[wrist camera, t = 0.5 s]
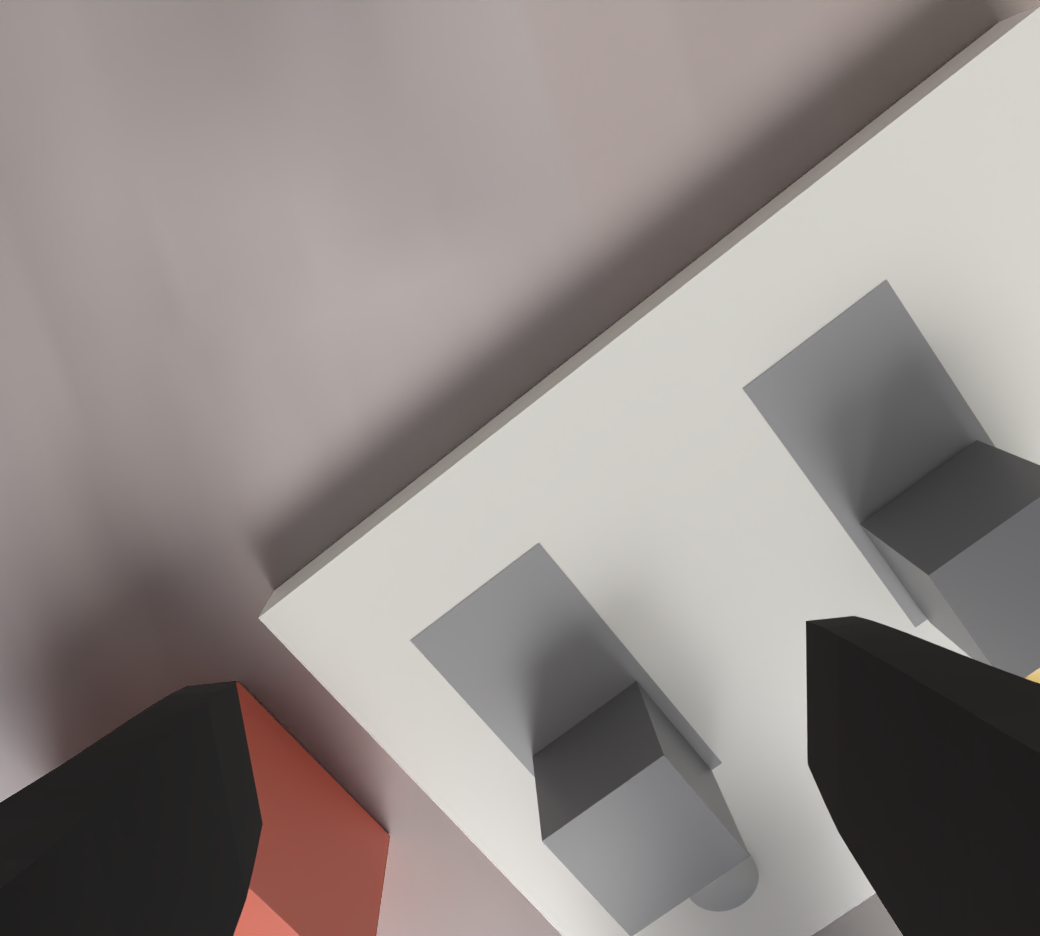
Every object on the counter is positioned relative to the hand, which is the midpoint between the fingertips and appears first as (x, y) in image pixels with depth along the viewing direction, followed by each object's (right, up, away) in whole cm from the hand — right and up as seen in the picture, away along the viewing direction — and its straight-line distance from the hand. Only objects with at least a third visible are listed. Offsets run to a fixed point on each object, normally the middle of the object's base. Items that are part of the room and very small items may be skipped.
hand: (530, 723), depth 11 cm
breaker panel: (+7, +1, +10) cm, 12 cm away
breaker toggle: (+9, +2, +8) cm, 13 cm away
